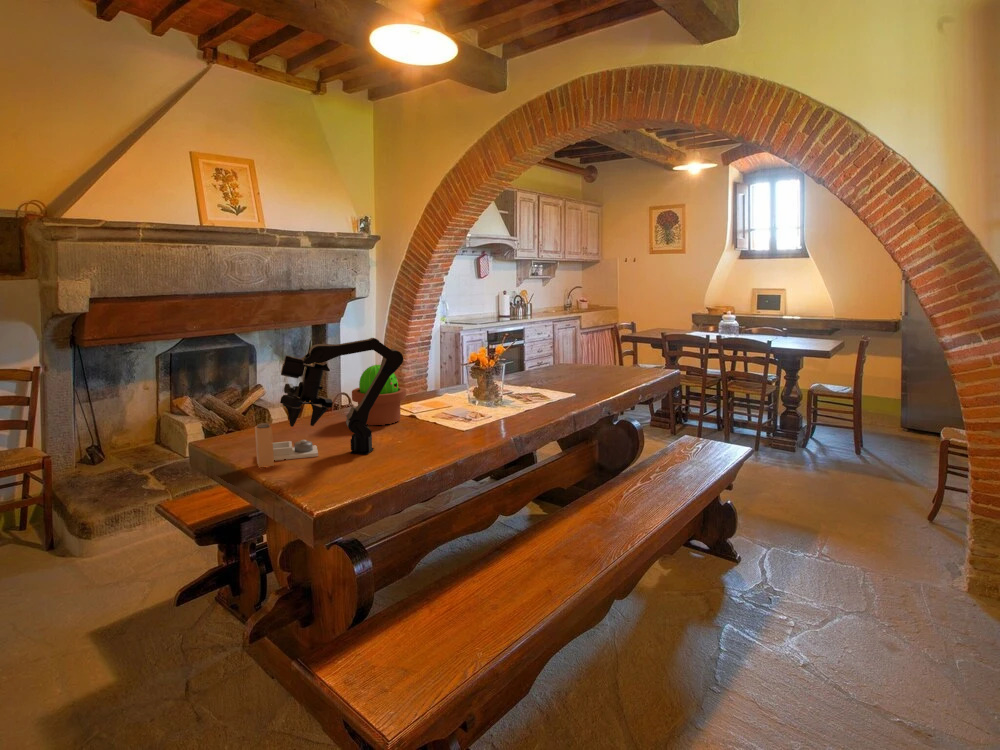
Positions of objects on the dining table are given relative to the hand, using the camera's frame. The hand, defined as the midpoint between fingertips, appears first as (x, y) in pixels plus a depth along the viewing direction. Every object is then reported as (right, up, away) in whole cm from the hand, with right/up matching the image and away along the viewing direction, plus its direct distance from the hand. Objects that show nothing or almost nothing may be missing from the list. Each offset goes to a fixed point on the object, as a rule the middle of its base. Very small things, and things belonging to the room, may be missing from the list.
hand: (301, 426), depth 197 cm
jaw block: (-10, -12, -6) cm, 17 cm away
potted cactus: (+15, -3, +53) cm, 55 cm away
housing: (-6, -10, +5) cm, 13 cm away
